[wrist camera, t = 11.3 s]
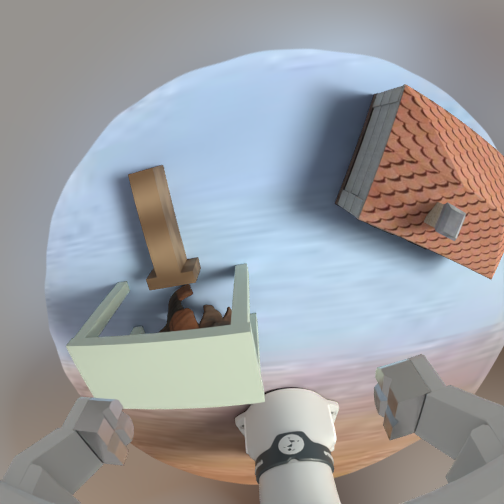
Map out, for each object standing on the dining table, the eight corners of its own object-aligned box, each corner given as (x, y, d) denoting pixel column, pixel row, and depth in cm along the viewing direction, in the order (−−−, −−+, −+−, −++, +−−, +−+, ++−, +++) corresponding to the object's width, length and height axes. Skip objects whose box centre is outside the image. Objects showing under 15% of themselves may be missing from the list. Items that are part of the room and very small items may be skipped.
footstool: (259, 321, 43) (265, 402, 28) (135, 335, 43) (100, 407, 29) (248, 263, 40) (250, 331, 25) (116, 282, 40) (65, 346, 26)
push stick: (200, 267, 40) (195, 282, 36) (158, 275, 40) (149, 290, 36) (174, 161, 35) (165, 164, 31) (130, 174, 36) (116, 178, 31)
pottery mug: (202, 265, 40) (225, 309, 34) (233, 301, 46) (256, 341, 41) (132, 315, 39) (144, 362, 33) (171, 343, 46) (187, 385, 40)
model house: (332, 205, 38) (380, 241, 24) (372, 94, 33) (437, 74, 19) (457, 259, 41) (517, 301, 27) (490, 170, 36) (559, 188, 22)
